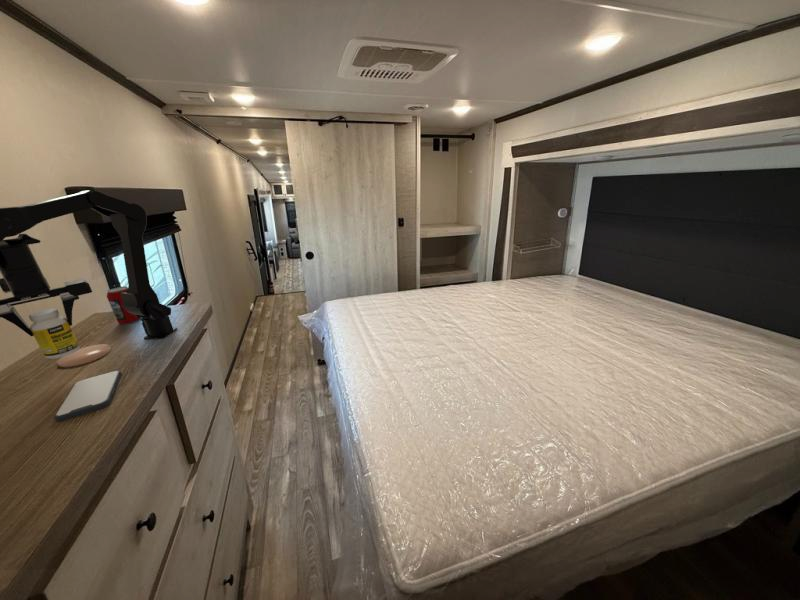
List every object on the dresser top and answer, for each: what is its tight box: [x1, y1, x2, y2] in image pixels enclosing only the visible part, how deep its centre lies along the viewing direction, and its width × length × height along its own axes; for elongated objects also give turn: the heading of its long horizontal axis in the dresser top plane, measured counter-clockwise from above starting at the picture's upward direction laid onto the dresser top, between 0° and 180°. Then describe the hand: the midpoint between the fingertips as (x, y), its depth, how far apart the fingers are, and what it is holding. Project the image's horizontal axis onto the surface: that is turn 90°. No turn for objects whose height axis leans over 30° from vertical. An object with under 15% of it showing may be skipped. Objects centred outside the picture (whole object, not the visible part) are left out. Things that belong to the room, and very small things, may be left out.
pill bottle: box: [28, 307, 81, 359], centre depth 76 cm, size 6×6×11 cm
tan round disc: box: [56, 343, 112, 368], centre depth 89 cm, size 11×11×1 cm
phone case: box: [53, 370, 122, 423], centre depth 71 cm, size 9×2×16 cm
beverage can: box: [106, 286, 141, 325], centre depth 109 cm, size 7×7×12 cm
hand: (52, 330), depth 75 cm, fingers closed on pill bottle, 6 cm apart
